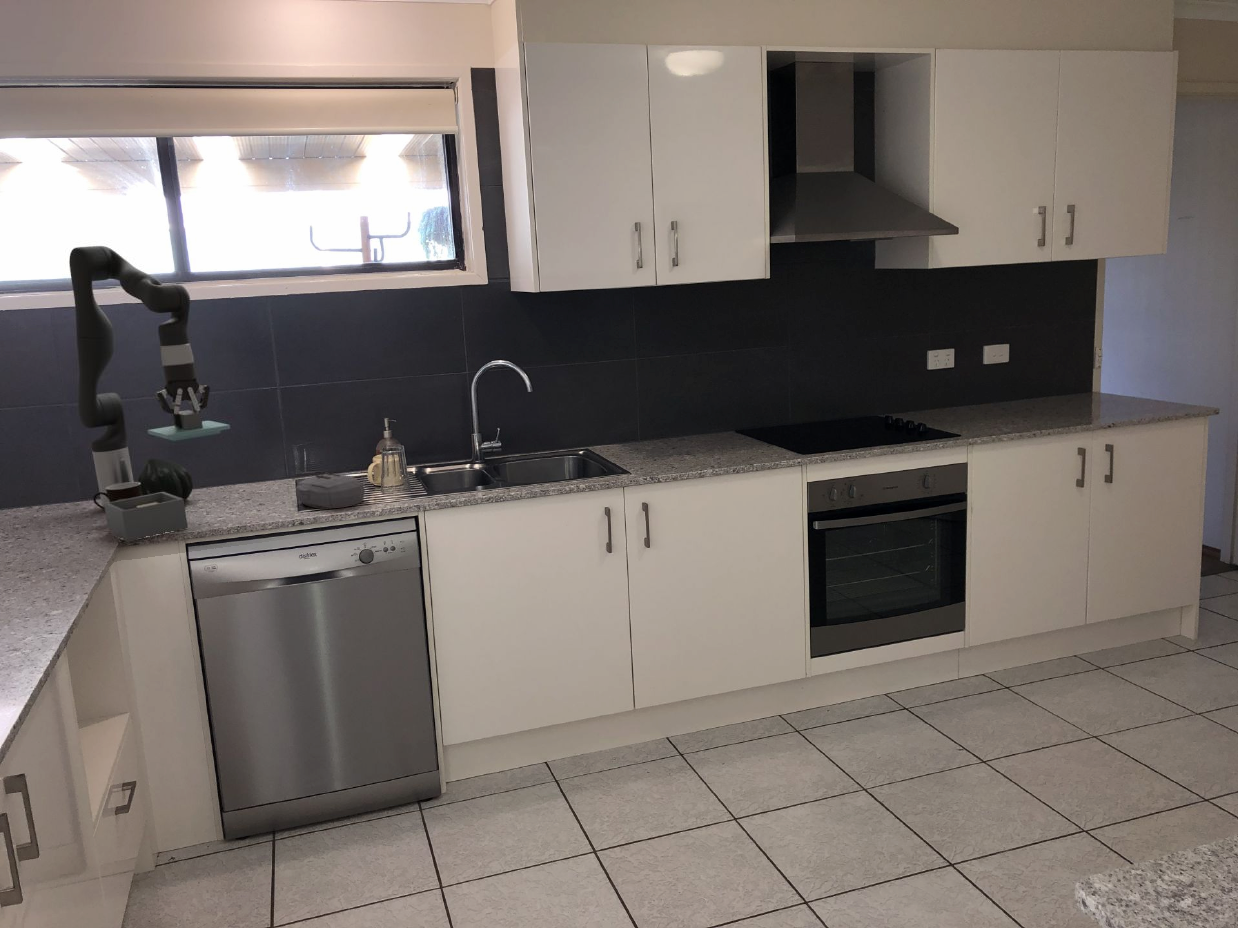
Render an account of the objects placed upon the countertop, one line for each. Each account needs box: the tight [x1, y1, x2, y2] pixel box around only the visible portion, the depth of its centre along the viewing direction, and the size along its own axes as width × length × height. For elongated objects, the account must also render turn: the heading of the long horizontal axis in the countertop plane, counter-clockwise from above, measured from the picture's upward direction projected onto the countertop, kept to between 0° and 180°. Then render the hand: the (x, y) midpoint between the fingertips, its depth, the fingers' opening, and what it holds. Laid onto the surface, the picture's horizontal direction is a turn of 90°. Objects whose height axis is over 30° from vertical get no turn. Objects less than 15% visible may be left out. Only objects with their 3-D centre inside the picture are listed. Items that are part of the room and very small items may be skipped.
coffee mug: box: [92, 481, 141, 511], centre depth 271 cm, size 12×9×10 cm
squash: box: [137, 457, 194, 501], centre depth 287 cm, size 14×15×15 cm
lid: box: [147, 409, 231, 442], centre depth 262 cm, size 16×16×6 cm
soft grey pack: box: [295, 472, 366, 510], centre depth 275 cm, size 15×8×20 cm
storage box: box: [104, 492, 189, 543], centre depth 258 cm, size 15×15×8 cm
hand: (188, 426), depth 263 cm, fingers closed on lid, 4 cm apart
